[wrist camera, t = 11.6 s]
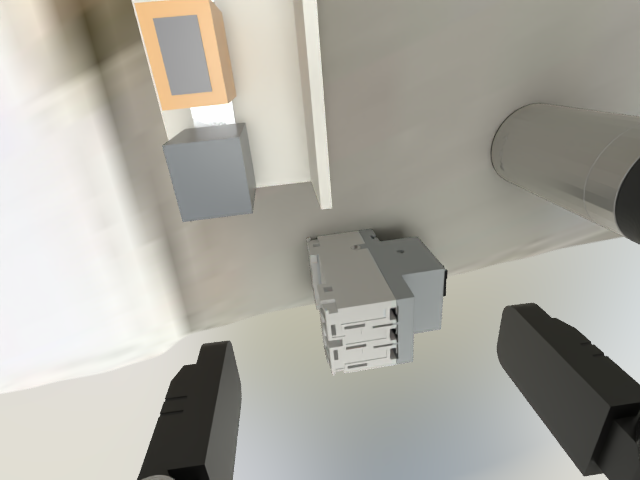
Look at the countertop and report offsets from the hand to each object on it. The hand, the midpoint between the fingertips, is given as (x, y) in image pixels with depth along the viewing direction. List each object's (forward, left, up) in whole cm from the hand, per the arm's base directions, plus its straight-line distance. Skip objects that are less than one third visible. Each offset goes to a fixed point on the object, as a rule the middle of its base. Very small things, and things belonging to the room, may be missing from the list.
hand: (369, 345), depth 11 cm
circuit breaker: (-7, +15, -33) cm, 37 cm away
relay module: (+8, -9, -31) cm, 33 cm away
